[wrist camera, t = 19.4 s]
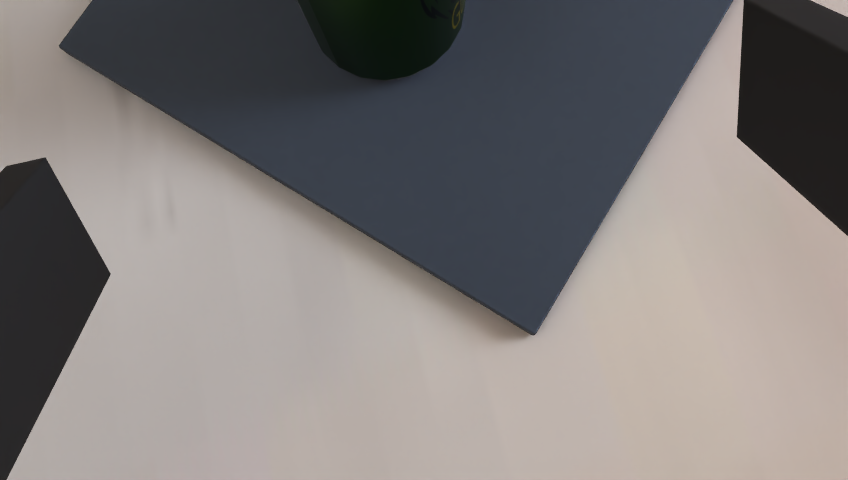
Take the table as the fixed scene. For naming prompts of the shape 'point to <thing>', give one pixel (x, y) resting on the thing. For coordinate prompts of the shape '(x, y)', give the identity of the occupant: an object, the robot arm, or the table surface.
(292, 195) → the table surface
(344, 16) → the beer can
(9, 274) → the robot arm
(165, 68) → the slate mat
